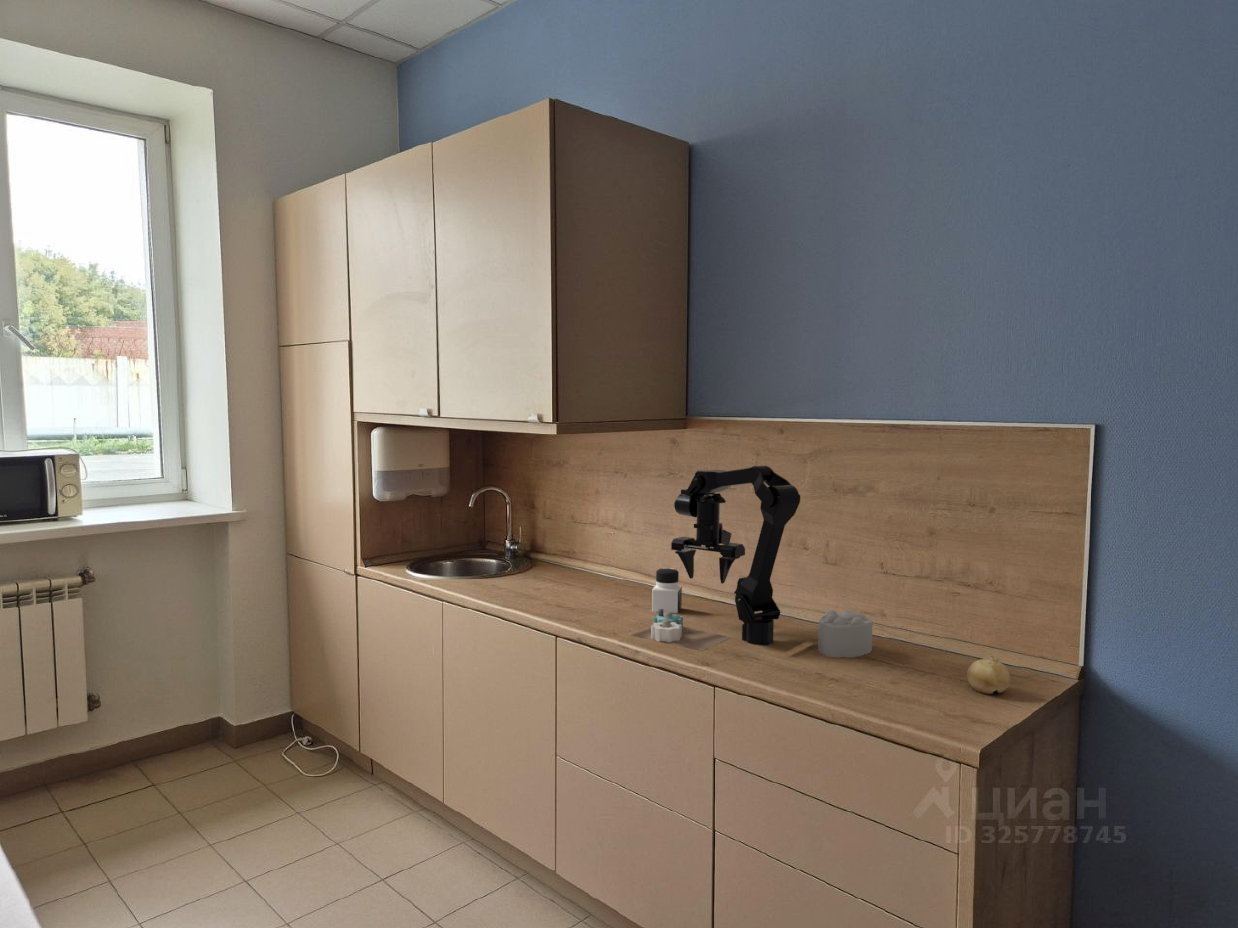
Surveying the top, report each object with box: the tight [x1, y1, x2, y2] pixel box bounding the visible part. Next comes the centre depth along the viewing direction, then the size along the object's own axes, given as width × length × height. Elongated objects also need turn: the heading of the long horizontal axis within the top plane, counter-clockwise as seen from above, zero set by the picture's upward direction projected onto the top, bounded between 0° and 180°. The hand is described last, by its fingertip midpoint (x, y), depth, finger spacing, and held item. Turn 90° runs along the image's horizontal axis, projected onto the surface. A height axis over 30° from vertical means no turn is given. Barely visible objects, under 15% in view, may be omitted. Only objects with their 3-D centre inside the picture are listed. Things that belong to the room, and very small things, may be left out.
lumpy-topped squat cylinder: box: [817, 610, 873, 658], centre depth 198 cm, size 10×13×9 cm
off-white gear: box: [650, 622, 682, 643], centre depth 203 cm, size 7×7×3 cm
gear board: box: [630, 612, 732, 652], centre depth 204 cm, size 20×14×5 cm
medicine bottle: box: [651, 567, 683, 614], centre depth 231 cm, size 7×7×12 cm
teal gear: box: [653, 609, 684, 629], centre depth 211 cm, size 7×7×5 cm
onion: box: [966, 653, 1011, 695], centre depth 171 cm, size 8×8×7 cm
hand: (706, 580), depth 216 cm, fingers open, 9 cm apart
